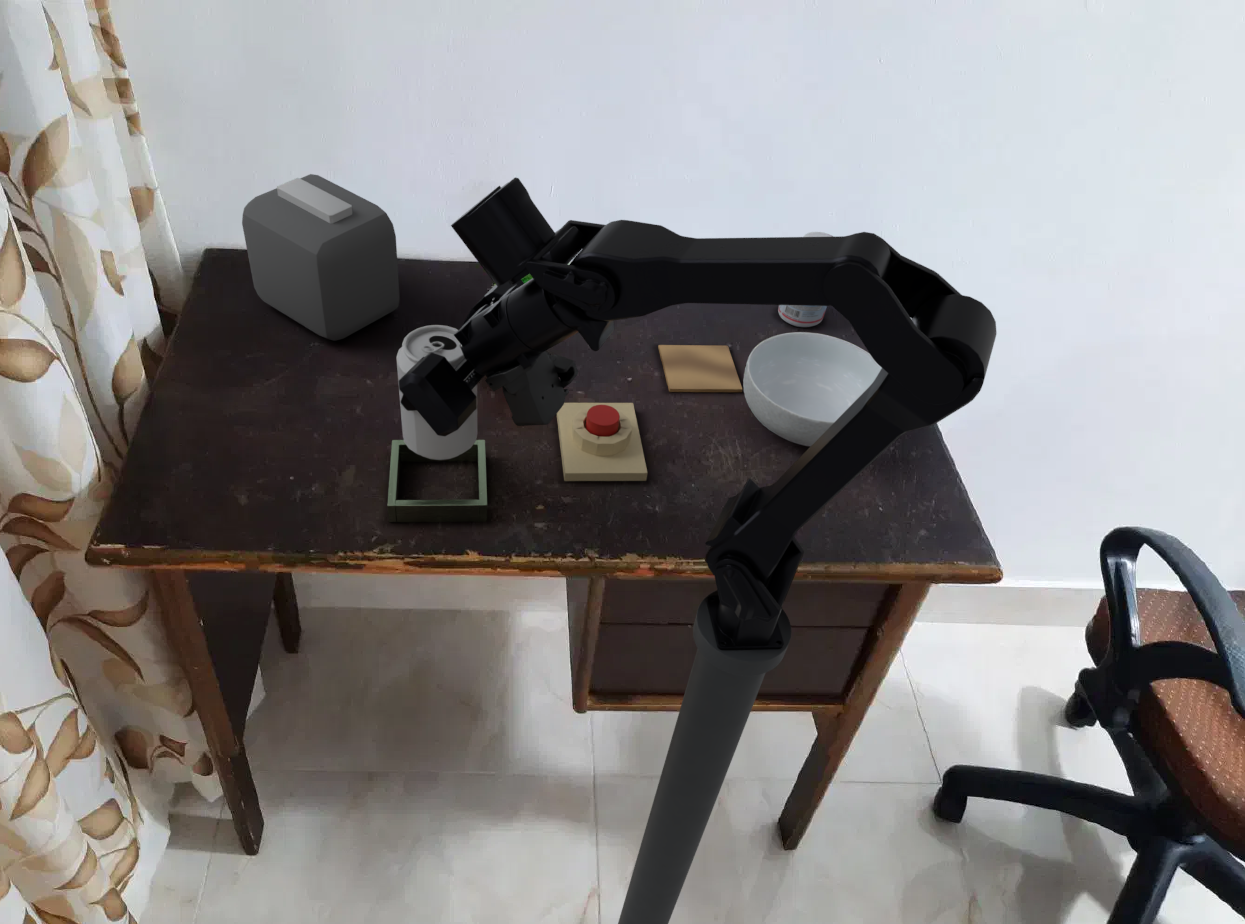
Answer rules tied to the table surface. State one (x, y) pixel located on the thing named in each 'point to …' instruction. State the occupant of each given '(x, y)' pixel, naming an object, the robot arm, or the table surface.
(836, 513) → the table surface
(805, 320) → the pill bottle
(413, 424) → the can
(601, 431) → the stop button
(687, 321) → the table surface
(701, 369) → the cork coaster
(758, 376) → the cereal bowl
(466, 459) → the grey-green square frame
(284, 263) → the alarm clock
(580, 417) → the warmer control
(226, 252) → the table surface
